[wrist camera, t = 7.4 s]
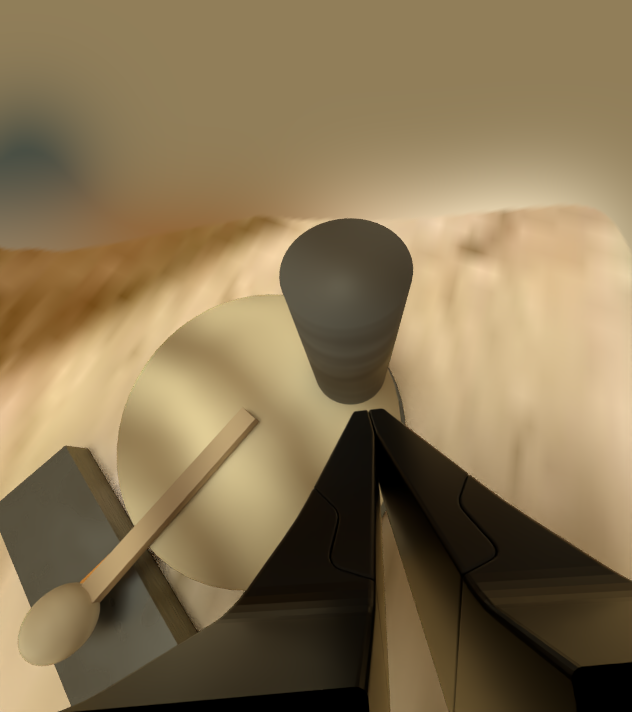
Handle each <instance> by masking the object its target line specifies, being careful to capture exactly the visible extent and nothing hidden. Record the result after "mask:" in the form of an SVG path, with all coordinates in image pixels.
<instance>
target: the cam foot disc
mask: <svg viewBox="0 0 632 712" xmlns="http://www.w3.org/2000/svg"><path fill="white" fill-rule="evenodd" d="M412 276H413V264H412V258H411V255H410V253H409V251H408V249H407V247H406V245H405V244H404V242H403V241H402V240H401V239H400V238H399V237H398V236H397V235H396V234H395V233H394V232H392V231H391V230H389V229H388V228H386V227H384V226H382V225H380V224H378V223H375V222H372V221H368V220H363V219H337V220H332V221H328V222H325V223H322V224H319V225H317V226H315V227H313V228H311V229H309V230H307V231H306V232H305V233H303V234H302V235H300V236H299V237H298V238H297V239H296V240H295V241H294V242H293V243H292V244H291V246H290V247H289V248H288V250H287V251H286V253H285V255H284V257H283V260H282V263H281V267H280V276H279V278H280V286H281V289H282V292H283V295H257V296H250V297H245V298H240V299H236V300H233V301H229V302H226V303H223V304H221V305H218V306H216V307H214V308H211V309H209V310H207V311H205V312H204V313H202V314H200V315H198V316H196V317H195V318H193V319H192V320H190V321H189V322H187V323H186V324H185V325H183V326H182V327H180V328H179V329H178V330H177V331H176V332H175V333H173V334H172V335H171V336H170V337H169V338H168V339H167V340H166V341H165V342H164V343H163V344H162V345H161V346H160V347H159V348H158V349H157V350H156V352H155V353H154V354H153V356H152V357H151V358H150V360H149V361H148V362H147V364H146V365H145V367H144V368H143V370H142V371H141V373H140V375H139V376H138V378H137V380H136V382H135V384H134V386H133V388H132V390H131V392H130V394H129V397H128V400H127V403H126V405H125V408H124V411H123V415H122V419H121V423H120V428H119V434H118V443H117V471H118V478H119V485H120V490H121V493H122V497H123V500H124V504H125V507H126V509H127V511H128V514H129V516H130V518H131V520H132V523H133V525H134V527H133V528H132V530H131V531H130V532H129V533H128V534H127V535H126V536H125V537H124V538H123V540H122V541H121V542H120V543H119V544H118V545H117V546H116V547H115V548H114V549H113V551H112V552H111V553H110V554H109V555H108V556H107V557H106V558H105V559H104V561H103V562H102V563H101V564H100V565H99V566H98V567H97V568H96V569H95V570H94V572H93V573H92V574H91V575H90V576H89V577H88V578H87V579H86V580H85V582H84V583H79V582H74V583H67V584H64V585H61V586H59V587H56V588H54V589H53V590H51V591H49V592H48V593H46V594H45V595H44V596H43V597H41V598H40V599H39V600H38V601H37V602H36V603H35V604H34V605H33V606H32V608H31V609H30V610H29V612H28V613H27V615H26V616H25V618H24V620H23V622H22V625H21V627H20V631H19V635H18V648H19V652H20V654H21V656H22V657H23V658H24V660H25V661H27V662H28V663H30V664H32V665H36V666H48V665H52V664H55V663H58V662H60V661H62V660H64V659H66V658H68V657H69V656H71V655H72V654H74V653H75V652H76V651H77V650H78V649H79V648H80V647H81V646H82V645H83V644H84V643H85V642H86V641H87V639H88V638H89V637H90V635H91V633H92V632H93V630H94V628H95V626H96V624H97V621H98V618H99V613H100V602H101V601H102V600H103V598H104V597H105V596H106V595H107V594H108V593H109V592H110V591H111V589H112V588H113V587H114V586H115V585H116V584H117V583H118V581H119V580H120V579H121V578H122V577H123V576H124V575H125V573H126V572H127V571H128V570H129V569H130V568H131V567H132V565H133V564H134V563H135V562H136V561H137V560H138V559H139V557H140V556H141V555H142V554H143V553H144V552H145V551H146V549H147V548H148V547H150V548H151V549H152V551H153V552H154V553H155V554H156V555H157V556H158V557H159V558H161V559H162V560H163V561H164V562H165V563H167V564H168V565H169V566H170V567H172V568H173V569H175V570H176V571H178V572H180V573H182V574H183V575H185V576H187V577H188V578H190V579H193V580H196V581H198V582H201V583H204V584H206V585H209V586H213V587H219V588H224V589H229V590H246V589H247V588H248V587H249V585H250V584H251V582H252V581H253V580H254V578H255V577H256V575H257V574H258V573H259V571H260V570H261V568H262V567H263V565H264V564H265V563H266V561H267V560H268V558H269V557H270V556H271V554H272V553H273V551H274V550H275V549H276V547H277V546H278V544H279V543H280V542H281V540H282V539H283V537H284V536H285V534H286V533H287V531H288V530H289V528H290V527H291V525H292V524H293V522H294V521H295V519H296V518H297V516H298V514H299V513H300V511H301V509H302V507H303V506H304V504H305V502H306V500H307V499H308V497H309V495H310V493H311V491H312V489H314V486H315V484H316V482H317V480H318V478H319V476H320V474H321V472H322V470H323V468H324V467H325V465H326V463H327V461H328V459H329V457H330V455H331V453H332V451H333V450H334V448H335V446H336V444H337V442H338V440H339V438H340V436H341V434H342V432H343V431H344V429H345V427H346V425H347V423H348V421H349V419H350V417H351V415H352V414H353V412H354V411H361V410H367V411H368V412H369V410H371V409H379V408H383V409H385V410H386V411H387V412H389V413H390V414H391V415H393V416H394V417H395V418H397V419H398V420H399V421H400V422H401V418H400V410H399V401H398V397H397V393H396V389H395V386H394V382H393V379H392V377H391V375H390V372H389V370H388V366H389V362H390V358H391V355H392V351H393V348H394V344H395V340H396V337H397V333H398V329H399V326H400V322H401V318H402V315H403V311H404V307H405V304H406V300H407V296H408V293H409V289H410V285H411V282H412ZM379 488H380V486H379ZM380 501H381V505H382V503H383V498H382V494H381V491H380Z"/></svg>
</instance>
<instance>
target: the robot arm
mask: <svg viewBox="0 0 632 712" xmlns="http://www.w3.org/2000/svg"><path fill="white" fill-rule="evenodd" d="M379 486H380V488H379ZM380 491H381V494H382V498H383V501H384V505H385V508H386V511H387V514H388V517H389V521H390V524H391V527H392V530H393V534H394V537H395V540H396V543H397V546H398V550H399V553H400V556H401V559H402V562H403V566H404V569H405V572H406V575H407V579H408V582H409V585H410V588H411V591H412V595H413V598H414V601H415V604H416V608H417V611H418V614H419V617H420V620H421V624H422V627H423V630H424V633H425V637H426V640H427V643H428V646H429V649H430V653H431V656H432V659H433V662H434V665H435V669H436V672H437V675H438V678H439V682H440V685H441V688H442V691H443V694H444V698H445V701H446V704H447V707H448V711H449V712H632V580H630V579H628V578H626V577H624V576H622V575H620V574H618V573H617V572H615V571H613V570H612V569H610V568H608V567H607V566H605V565H603V564H602V563H600V562H599V561H597V560H596V559H594V558H593V557H591V556H589V555H588V554H586V553H585V552H583V551H582V550H580V549H578V548H577V547H575V546H574V545H572V544H571V543H569V542H568V541H566V540H564V539H563V538H561V537H560V536H558V535H557V534H555V533H553V532H552V531H550V530H549V529H547V528H546V527H544V526H542V525H541V524H539V523H538V522H536V521H535V520H533V519H532V518H530V517H529V516H527V515H526V514H524V513H523V512H521V511H520V510H518V509H517V508H515V507H514V506H512V505H510V504H509V503H507V502H506V501H504V500H503V499H502V498H500V497H499V496H498V495H496V494H495V493H494V492H492V491H491V490H489V489H488V488H487V487H485V486H484V485H483V484H481V483H480V482H479V481H477V480H476V479H475V478H474V477H472V476H471V475H468V473H467V472H466V471H464V470H463V469H462V468H460V467H459V466H458V465H456V464H455V463H454V462H452V461H451V460H450V459H449V458H447V457H446V456H445V455H443V454H442V453H441V452H439V451H438V450H437V449H436V448H434V447H433V446H432V445H430V444H429V443H428V442H426V441H425V440H424V439H423V438H421V437H420V436H419V435H417V434H416V433H415V432H413V431H412V430H411V429H410V428H408V427H407V426H406V425H404V424H403V423H402V422H400V421H399V420H398V419H397V418H395V417H394V416H393V415H391V414H390V413H389V412H387V411H386V410H385V409H383V408H379V409H371V410H369V412H368V411H367V410H361V411H354V412H353V414H352V415H351V417H350V419H349V421H348V423H347V425H346V427H345V429H344V431H343V432H342V434H341V436H340V438H339V440H338V442H337V444H336V446H335V448H334V450H333V451H332V453H331V455H330V457H329V459H328V461H327V463H326V465H325V467H324V468H323V470H322V472H321V474H320V476H319V478H318V480H317V482H316V484H315V486H314V489H312V491H311V493H310V495H309V497H308V499H307V500H306V502H305V504H304V506H303V507H302V509H301V511H300V513H299V514H298V516H297V518H296V519H295V521H294V522H293V524H292V525H291V527H290V528H289V530H288V531H287V533H286V534H285V536H284V537H283V539H282V540H281V542H280V543H279V544H278V546H277V547H276V549H275V550H274V551H273V553H272V554H271V556H270V557H269V558H268V560H267V561H266V563H265V564H264V565H263V567H262V568H261V570H260V571H259V573H258V574H257V575H256V577H255V578H254V580H253V581H252V582H251V584H250V585H249V587H248V588H247V589H246V591H245V592H244V593H243V595H242V596H241V597H240V599H239V600H238V601H237V602H236V603H235V604H234V605H233V606H232V607H231V608H230V609H229V610H228V611H227V612H226V613H225V614H224V615H223V616H222V617H221V618H220V619H218V620H217V621H216V622H214V623H213V624H211V625H209V626H208V627H206V628H205V629H203V630H201V631H200V632H198V633H196V634H195V635H193V636H191V637H190V638H188V639H187V640H185V641H183V642H182V643H180V644H178V645H177V646H175V647H173V648H172V649H170V650H169V651H167V652H165V653H164V654H162V655H160V656H159V657H157V658H155V659H154V660H152V661H151V662H149V663H147V664H146V665H144V666H142V667H141V668H139V669H137V670H136V671H134V672H133V673H131V674H129V675H128V676H126V677H124V678H123V679H121V680H119V681H118V682H116V683H115V684H113V685H111V686H110V687H108V688H106V689H105V690H103V691H101V692H99V693H97V694H96V695H94V696H92V697H90V698H88V699H87V700H85V701H82V702H80V703H78V704H76V705H73V706H71V707H69V708H67V709H64V710H62V711H59V712H390V692H389V671H388V650H387V629H386V607H385V586H384V565H383V544H382V523H381V501H380Z"/></svg>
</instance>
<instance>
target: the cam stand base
mask: <svg viewBox="0 0 632 712" xmlns="http://www.w3.org/2000/svg"><path fill="white" fill-rule="evenodd" d="M388 370H389V372H390V375H391V377H392V379H393V382H394V386H395V389H396V393H397V397H398V401H399V410H400V418H401V422H402V423H403V424H404V425H405V417H404V411H403V405H402V400H401V397H400V394H399V391H398V387H397V384H396V382H395V380H394V378H393V375H392V373H391V371H390V369H389V367H388ZM385 511H386V508H385V505H384V501H383V503H382V505H381V519H382V517H383V515H384V513H385ZM133 527H134V526H133V524H132V522H131V520H130V519H129V517H128V515H127V514H126V512H125V510H124V509H123V507H122V505H121V504H120V502H119V500H118V499H117V497H116V495H115V494H114V492H113V490H112V489H111V487H110V485H109V484H108V482H107V480H106V479H105V477H104V475H103V474H102V472H101V470H100V469H99V467H98V465H97V464H96V462H95V460H94V459H93V457H92V455H91V454H90V452H89V450H88V449H87V448H79V447H72V446H64V447H63V448H62V449H61V450H60V451H58V452H57V453H56V454H55V455H54V456H53V457H51V458H50V459H49V460H48V461H47V462H46V463H44V464H43V465H42V466H41V467H40V468H39V469H37V470H36V471H35V472H34V473H33V474H32V475H30V476H29V477H28V478H27V479H26V480H24V481H23V482H22V483H21V484H20V485H19V486H17V487H16V488H15V489H14V490H13V491H12V492H10V493H9V494H8V495H7V496H6V497H5V498H3V499H2V500H1V501H0V533H1V535H2V537H3V540H4V542H5V545H6V547H7V550H8V552H9V555H10V557H11V560H12V562H13V564H14V567H15V569H16V572H17V574H18V577H19V579H20V582H21V584H22V586H23V589H24V591H25V594H26V596H27V599H28V601H29V604H30V606H31V608H32V606H33V605H34V604H35V603H36V602H37V601H38V600H39V599H40V598H41V597H43V596H44V595H45V594H46V593H48V592H49V591H51V590H53V589H54V588H56V587H59V586H61V585H64V584H67V583H74V582H79V583H84V582H85V580H86V579H87V578H88V577H89V576H90V575H91V574H92V573H93V572H94V570H95V569H96V568H97V567H98V566H99V565H100V564H101V563H102V562H103V561H104V559H105V558H106V557H107V556H108V555H109V554H110V553H111V552H112V551H113V549H114V548H115V547H116V546H117V545H118V544H119V543H120V542H121V541H122V540H123V538H124V537H125V536H126V535H127V534H128V533H129V532H130V531H131V530H132V528H133ZM245 591H246V590H245ZM196 633H197V631H196V629H195V628H194V626H193V624H192V623H191V621H190V619H189V618H188V616H187V614H186V613H185V611H184V609H183V608H182V606H181V604H180V603H179V601H178V599H177V598H176V596H175V594H174V593H173V591H172V589H171V587H170V586H169V584H168V582H167V581H166V579H165V577H164V576H163V574H162V572H161V571H160V569H159V567H158V566H157V564H156V562H155V561H154V559H153V557H152V556H151V554H150V552H149V551H148V549H146V551H145V552H144V553H143V554H142V555H141V556H140V557H139V559H138V560H137V561H136V562H135V563H134V564H133V565H132V567H131V568H130V569H129V570H128V571H127V572H126V573H125V575H124V576H123V577H122V578H121V579H120V580H119V581H118V583H117V584H116V585H115V586H114V587H113V588H112V589H111V591H110V592H109V593H108V594H107V595H106V596H105V597H104V598H103V600H102V601H101V602H100V613H99V618H98V621H97V624H96V626H95V628H94V630H93V632H92V633H91V635H90V637H89V638H88V639H87V641H86V642H85V643H84V644H83V645H82V646H81V647H80V648H79V649H78V650H77V651H76V652H75V653H74V654H72V655H71V656H69V657H68V658H66V659H64V660H62V661H60V662H58V663H55V664H54V665H55V667H56V670H57V672H58V675H59V677H60V680H61V682H62V685H63V687H64V690H65V692H66V694H67V697H68V699H69V702H70V704H71V706H73V705H76V704H78V703H80V702H82V701H85V700H87V699H88V698H90V697H92V696H94V695H96V694H97V693H99V692H101V691H103V690H105V689H106V688H108V687H110V686H111V685H113V684H115V683H116V682H118V681H119V680H121V679H123V678H124V677H126V676H128V675H129V674H131V673H133V672H134V671H136V670H137V669H139V668H141V667H142V666H144V665H146V664H147V663H149V662H151V661H152V660H154V659H155V658H157V657H159V656H160V655H162V654H164V653H165V652H167V651H169V650H170V649H172V648H173V647H175V646H177V645H178V644H180V643H182V642H183V641H185V640H187V639H188V638H190V637H191V636H193V635H195V634H196Z"/></svg>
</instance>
